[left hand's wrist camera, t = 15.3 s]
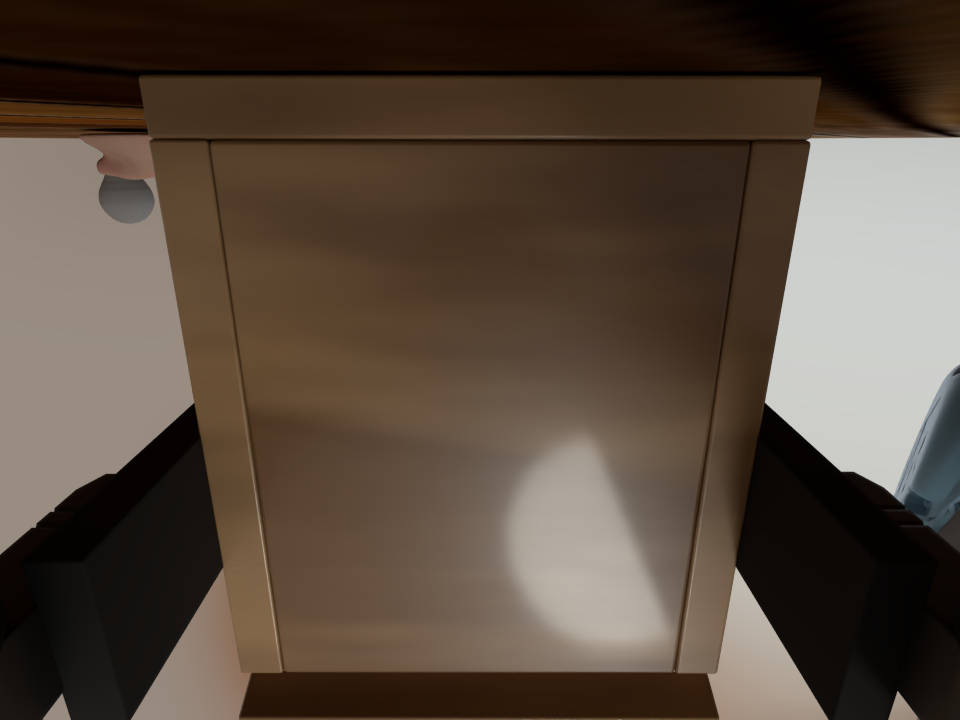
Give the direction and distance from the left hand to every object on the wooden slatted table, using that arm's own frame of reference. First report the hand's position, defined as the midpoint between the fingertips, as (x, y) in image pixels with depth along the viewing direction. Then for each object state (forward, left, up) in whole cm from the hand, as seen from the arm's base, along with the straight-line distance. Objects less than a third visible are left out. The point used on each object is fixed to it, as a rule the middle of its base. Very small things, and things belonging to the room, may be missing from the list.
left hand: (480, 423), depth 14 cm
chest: (-4, +3, -7) cm, 8 cm away
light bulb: (-21, +75, -7) cm, 78 cm away
